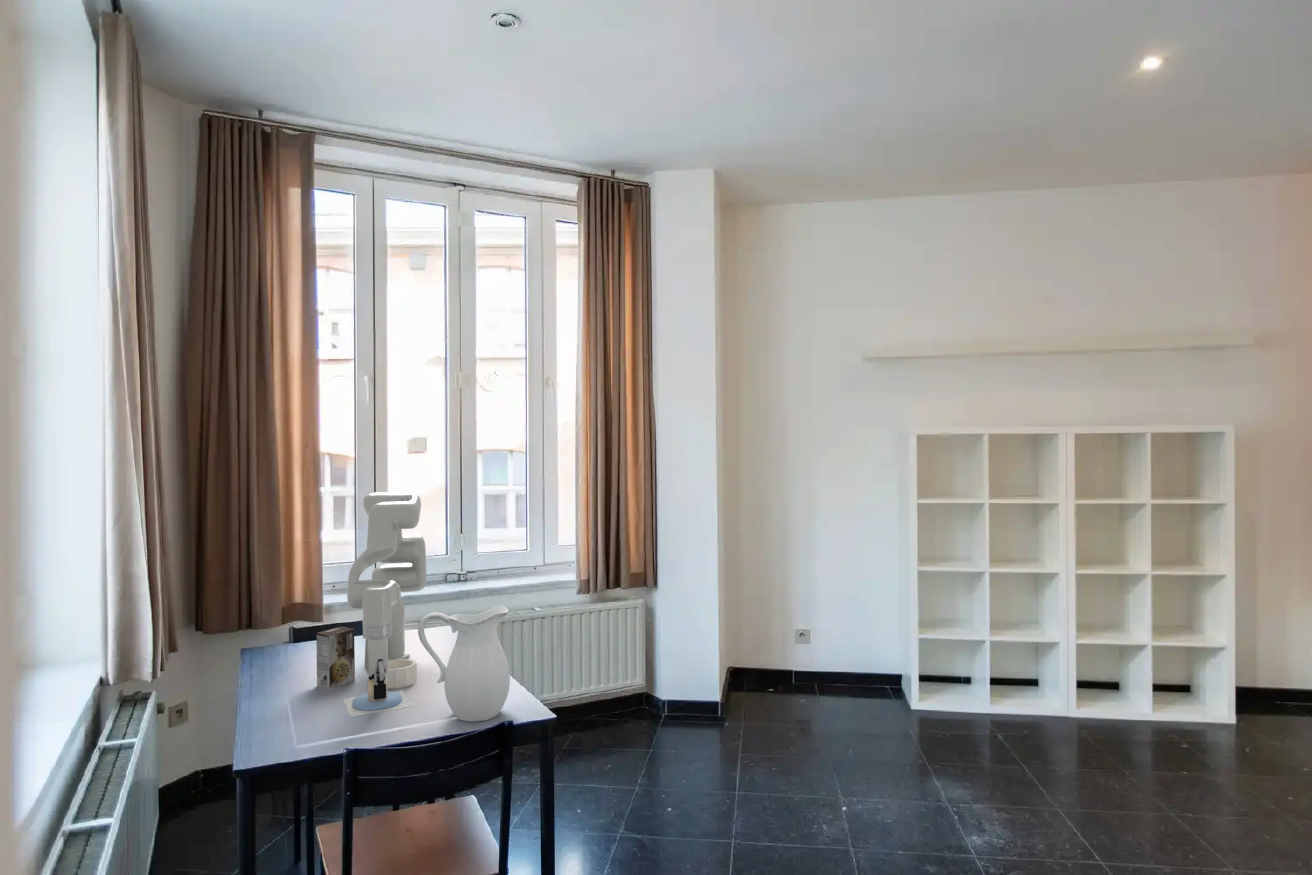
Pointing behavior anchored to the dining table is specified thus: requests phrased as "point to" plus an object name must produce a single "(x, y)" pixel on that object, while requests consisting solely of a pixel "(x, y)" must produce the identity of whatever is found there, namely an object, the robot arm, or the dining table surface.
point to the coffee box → (335, 657)
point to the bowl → (401, 673)
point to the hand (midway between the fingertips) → (377, 693)
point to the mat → (355, 712)
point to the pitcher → (473, 664)
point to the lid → (369, 704)
